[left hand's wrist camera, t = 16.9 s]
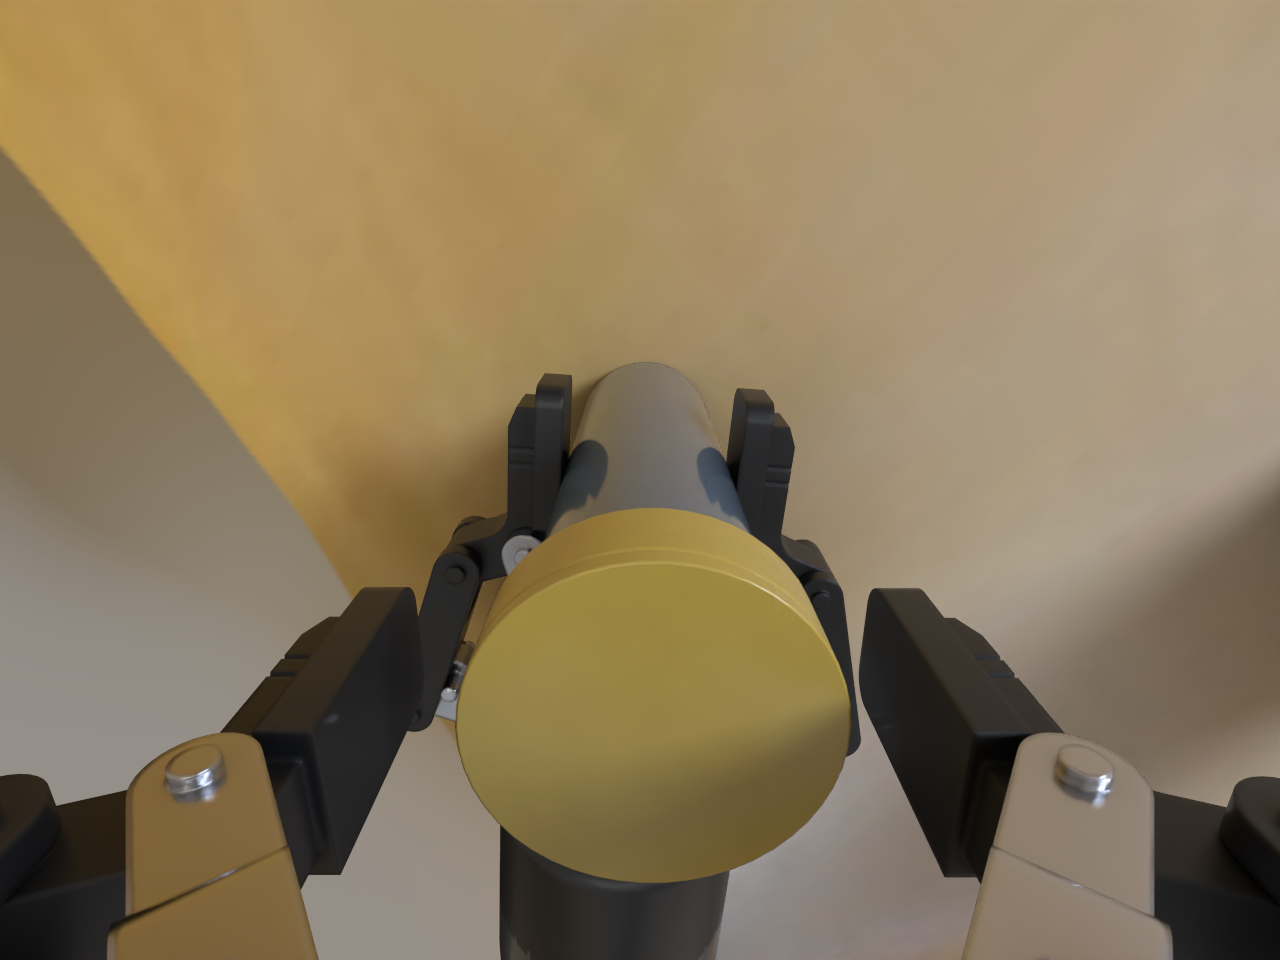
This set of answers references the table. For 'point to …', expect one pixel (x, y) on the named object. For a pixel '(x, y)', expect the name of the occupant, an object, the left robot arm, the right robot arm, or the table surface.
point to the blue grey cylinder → (645, 452)
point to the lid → (652, 699)
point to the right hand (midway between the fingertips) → (653, 390)
